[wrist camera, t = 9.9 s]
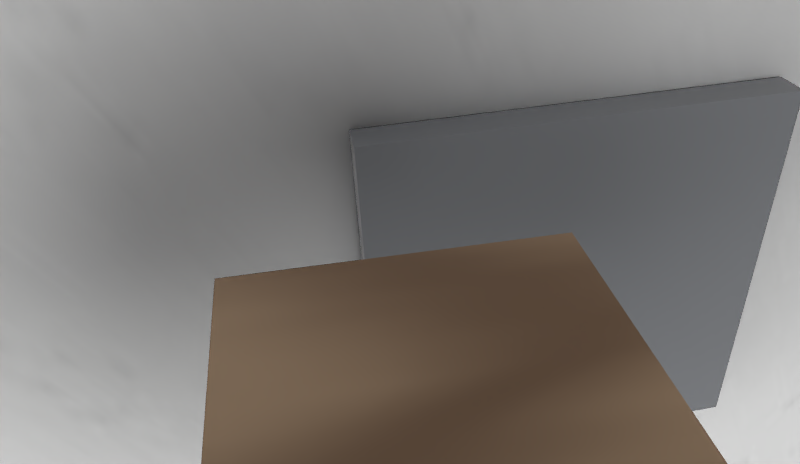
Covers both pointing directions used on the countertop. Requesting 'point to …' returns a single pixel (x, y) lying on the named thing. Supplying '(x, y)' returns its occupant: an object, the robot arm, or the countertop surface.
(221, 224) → the countertop surface
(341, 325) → the walnut block
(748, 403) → the countertop surface
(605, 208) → the slate pad
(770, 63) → the countertop surface
